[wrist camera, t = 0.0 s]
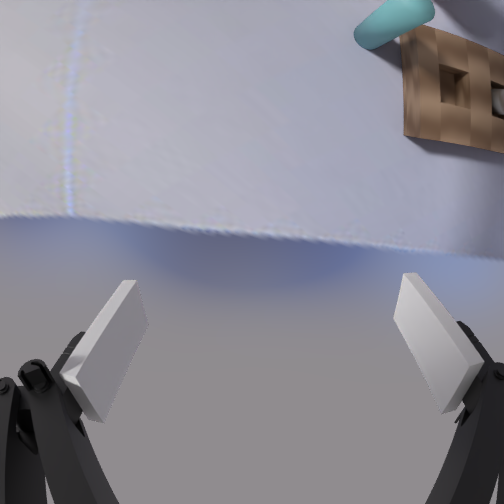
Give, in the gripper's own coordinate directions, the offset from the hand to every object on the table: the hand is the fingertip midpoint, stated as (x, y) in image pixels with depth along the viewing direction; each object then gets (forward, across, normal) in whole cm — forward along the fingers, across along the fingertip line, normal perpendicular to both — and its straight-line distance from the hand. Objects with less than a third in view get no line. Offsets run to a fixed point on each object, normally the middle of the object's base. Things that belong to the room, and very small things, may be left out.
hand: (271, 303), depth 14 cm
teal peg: (+28, +15, +21) cm, 38 cm away
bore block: (+28, +31, +15) cm, 44 cm away
